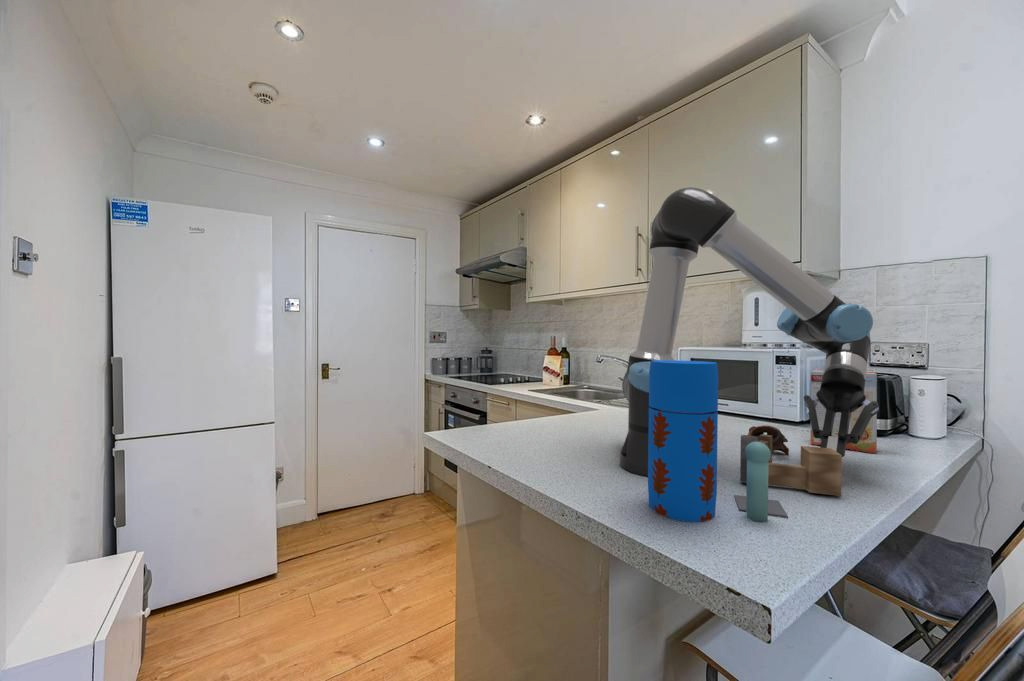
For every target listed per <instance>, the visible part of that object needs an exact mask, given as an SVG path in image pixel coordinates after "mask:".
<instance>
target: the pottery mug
mask: <svg viewBox="0 0 1024 681" xmlns="http://www.w3.org/2000/svg"><path fill="white" fill-rule="evenodd" d="M765 433H766V435H772V436H773V444H772V452H774V451H777V452H779V451H780V452H782V453H783V454H785V455H786V456H789V454H790V449H789V447H788V446H787V445H786V443H788V442H789V441H788V439H787V437H785V436H786V435H784V434H783V433H782V432H781V430H780V429H778V428H777V427H775V426H772V425H765V424H764V425H757V426H753V425H752V427H749V429H748V433H747V435H750V436H755V437H758V441H760V435H761V434H765Z"/></svg>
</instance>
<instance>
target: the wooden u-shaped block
mask: <svg viewBox="0 0 1024 681" xmlns="http://www.w3.org/2000/svg"><path fill="white" fill-rule="evenodd" d="M751 442H758V437H755V436H750V435H748V434H743V435H740V458H739V459H740V463H739V464H740V465H739V468H740V469H739V470H740V471H739V474H740V475H739V477H740V478H739V479H740V480H739V481H740V482H741V483H744V484H747V457H746V455H745V449H746V446H747V445H748V444H749V443H751ZM842 471H843V457H842V455H841V454H839V453H838V452H836V451H834V450H833V449H831V448H820V446H818V447H817V446H816V447H815V446H806V445H805V446H804V445H800V465H796V464H795V465H794V464H785V463H778V462H777V463H775V462H772V463H769V464H768V486H775V487H782V488H793V489H801V490H806V491H807V492H808V493H812V494H820V495H829V496H837V497H842V489H843V488H842V485H843V484H842V483H843V482H842V480H843V478H842V477H843V476H842V474H843V473H842Z"/></svg>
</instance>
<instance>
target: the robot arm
mask: <svg viewBox="0 0 1024 681" xmlns="http://www.w3.org/2000/svg"><path fill="white" fill-rule="evenodd" d="M650 233H651V234H650V235H651V239H650V245H649V250H648V251H649V252H648V253H649V254H650V255H651V257H652V259H653V262H652V267H651V273H650V277H649V284H648V288H647V293H646V299H645V304H644V309H643V315H642V319H641V320H642V321H641V324H640V325H641V326H640V332H639V337H638V341H637V347H636V349H635V350H634V351H632V352H631V353H630V354H629V355H628V356H629V357H628V361H627V368H626V372H625V373H624V376H623V379H622V383H621V388H622V392H623V394H624V397H625V399H626V400H627V401H628V416H627V418H628V419H627V420H628V422H627V424H628V427H627V434H626V436H625V440H624V442H623V446H622V448H621V451H620V454H619V465H620V466H621V467H622V468H623V469H624V470H626V471H628V472H631V473H634V474H637V475H641V476H645V477H646V476H647V477H648V436H649V370H650V363H651V361H656V360H675V359H674V357H673V354H672V353H673V349H674V345H675V344H674V343H675V339H676V333H677V327H678V325H679V317H680V313H681V306H682V302H683V296H684V292H685V286H686V281H687V276H688V270H689V265H690V263H691V262H692V261H693V260H694V259H696V258H697V257H698V252H699V249H700V248H699V247H701V248H710V249H712V251H714V252H716V253H717V254H718V255H719V256H720V257H722V258H723V259H724V260H726V262H728V263H730V264H731V265H732V266H733V267H734V268H736V269H737V271H740V272H741V273H742V274H743V275H745V276H746V277H747V278H748V279H750V280H751V281H752V282H753V283H755V284H756V285H757V286H759V287H760V288H761V289H762V290H764V291H765V292H766V293H767V294H769V296H771V297H773V298H774V299H775V300H776V301H778V302H779V303H780V304H781V305H783V306H784V307H785V308H784V309H783V311H782V312H781V314H780V315H779V317H778V319H777V322H776V326H777V329H778V330H780V331H782V332H783V333H785V334H786V335H787V336H789V337H792V338H795V339H796V340H798V341H800V342H802V343H803V344H807V346H810V347H813V348H814V349H817V350H818V351H820V352H822V353H824V354H825V362H824V367H823V370H824V371H823V376H822V382H821V387H820V390H819V391H818V392H817V393H816V395H814V396H811V395H808V394H807V395H804V396H803V402H804V405H805V407H806V408H807V410H808V414H809V419H810V420H809V421H810V427H811V426H812V431H813V436H814V437H815V438H820V439H821V446H819V448H831V449H833V450H834V451H836V452H838V453H839V454H841V455H842V458H844V457H845V456H846V450H847V449H846V445H847V444H848V443H853V444H857V443H858V442H859V441H860V439H861V437H862V435H863V433H864V431H865V429H866V427H867V425H868V423H869V421H870V419H871V417H872V416H874V415H875V414H877V415H878V413H879V412H880V408H879V407H880V406H879V403H878V401H877V402H876V401H872V402H870V401H868V400H866V396H865V395H864V388H865V379H866V372H867V371H868V370H867V368H868V361H869V354H870V348H871V347H870V346H871V344H872V343H871V341H872V340H871V330H872V329H873V326H874V319H873V315H872V313H871V312H870V311H869V310H868V308H866V307H865V306H863V305H859V304H855V303H846V302H844V301H843V300H842V299H841V298H839V297H838V296H836V295H835V294H834V293H833V292H831V291H830V290H829V289H827V288H826V287H825V286H823V285H822V284H821V283H819V281H817V280H816V279H814V278H813V277H812V276H811V275H809V274H808V273H807V272H806V271H804V270H803V269H801V268H800V267H799V266H798V265H796V264H795V263H794V262H793V261H792V260H790V259H789V258H788V257H786V256H785V255H783V254H782V253H781V252H780V251H778V250H777V249H776V248H775V247H773V245H771V244H769V243H768V242H767V241H766V240H765V239H763V238H762V237H761V236H759V235H758V234H757V233H755V232H754V231H752V229H750V228H749V227H747V225H745V224H744V223H742V221H740V220H739V219H738V218H737V211H736V210H734V209H733V208H732V207H731V206H729V205H728V204H727V203H726V202H725V201H723V200H722V199H720V198H719V197H717V196H716V195H714V194H712V193H710V192H708V191H706V190H704V189H701V188H697V187H692V186H691V187H684V188H679V189H677V190H675V191H673V192H672V193H671V194H669V195H668V196H667V197H666V198H665V200H664V201H663V202H662V204H661V207H660V209H659V210H658V212H657V214H656V215H655V217H654V218H653V221H652V224H651V227H650ZM818 401H819V402H820V403H821V404H822V405H823V406H824V407H825V409H826V414H825V419H824V425H823V431H822V430H820V429H819V424H818V419H817V413H816V408H815V407H816V406H817V402H818ZM862 405H863V410H862V412H861V414H860V416H859V418H858V419H857V421H856V423H855V425H854V427H853V429H852V431H851V433H850V434H848V430H849V422H850V417H851V412H854V411H855V410H857V409H858V408H860V407H861V406H862ZM837 412H840V413H841V418H840V425H839V432H838V437H831V436H832V430H833V424H834V417H835V414H836V413H837Z"/></svg>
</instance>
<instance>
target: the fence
mask: <svg viewBox="0 0 1024 681" xmlns="http://www.w3.org/2000/svg"><path fill="white" fill-rule="evenodd" d="M758 442H761V443H764V444H765V445H766V446H767V447H768V448H769V449H770V452H771V457H770V459H769V463H773V451H772V444H773V436H772V435H767V434H765V433H764V434H761V435H760V441H758Z"/></svg>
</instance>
